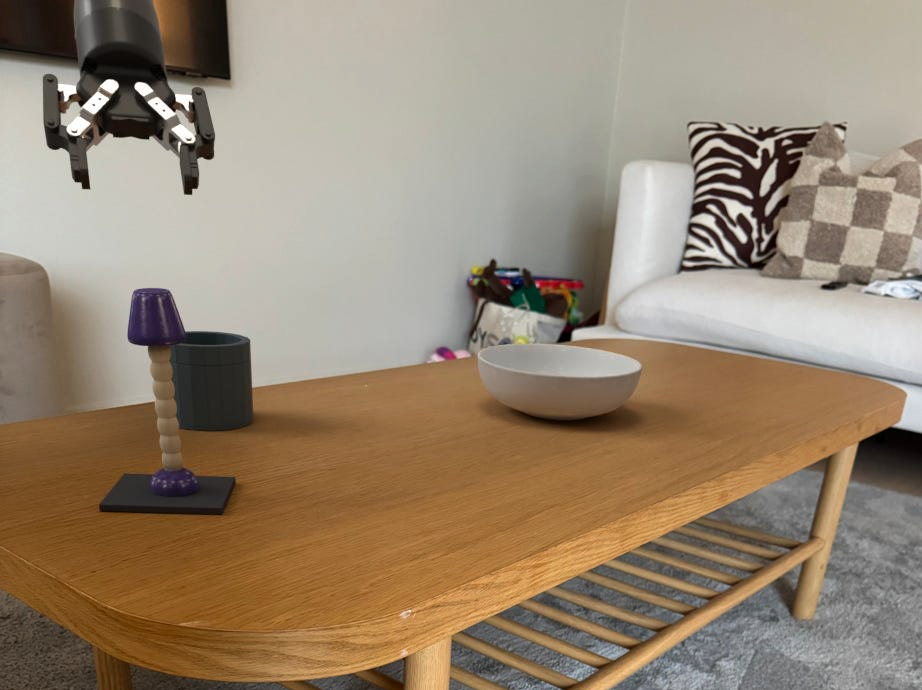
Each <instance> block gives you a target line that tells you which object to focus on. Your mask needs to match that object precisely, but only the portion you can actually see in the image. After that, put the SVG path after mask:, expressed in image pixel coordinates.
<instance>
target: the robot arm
mask: <svg viewBox="0 0 922 690" xmlns="http://www.w3.org/2000/svg"><path fill="white" fill-rule="evenodd" d="M73 26H74V41H75V44H76V51H77V52H76V53H77V61H78V69H79V80H78V82H77V83H76V85H74V84H66V83H59V79H58V77H57V76H56V75H55V74H52V73H46V74H44V75H42V120H43V121H42V122H43V128H44V129H43V130H44V136H45V142H46V147H48V148H49V150H53V151H58V150H60V149H63V150H64V151H66V152H67V153H68V154H69V163H70V171H71V178H72V180H73V181H74V183H77V184H79V183H80V184H81V190H89V191H90V190H91V183H90V173H89V171H90V170H89V164H88V154H87V152H88V151H89V150H90V149H91V148H92V147H93V146H94V147H98V146H99V145H100V144H101V142H102V141H104V140H105V138H106V137H107V136H109V134H110V135H112V138H118V139H126V138H135V139H137V140H144V141H145V140H147V141H150V138H151V137H152V139H154V140H155V141H156V142H157V143H158V144H160V146H161V147H162V148H163V149H164V150H166V151H167V152H168V151H171V152H172V153H173V154H174V155H175V156H177V157H178V159H179V169H180V175H181V176H180V177H181V183H182V190H183V195H184V196H193V190H198V188H199V187H200V169H199V163H198V160H199V159H202V158H203V159H204V160H207V161H212V160H213V159H214V158H215V141H216V132H215V128H214V123H213V119H212V115H211V110H210V107H209V103H208V98H207V93H206V91H205V90H204V88H202V87H200V86H195V87H193V88H192V89H191V94H189V93H187V94H186V93H185V94H183V93H175V92H174V90H173V89H172V88H171V87H170V85H169V81H168V74H167V67H166V60H165V53H164V46H163V39H162V33H161V26H160V21H159V17H158V14H157V11H156V8H155V3H154V0H74V4H73ZM74 103H77V104H78V106H79V107H80V110H79V114H78V116H76V117H75V118H74V119H73V120H72V121H71V122H70V123H69V125H68V126H67V125H64V124H62V114H63V115H65V114H67V111H68V110H69V109H70V107H71V105H72V104H74ZM177 111H180V112H182V113H183V116H184V117H185V119H187V122H188V123H189V124H193V127H194V131H195V135H194V134H193V133H192V132H191V131H190V130H189V129H187V128H186V127H185V125H183V124H182V122H181V121H180V118H179V116H178V114H177V113H176V112H177Z"/></svg>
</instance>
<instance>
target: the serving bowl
mask: <svg viewBox="0 0 922 690" xmlns="http://www.w3.org/2000/svg"><path fill="white" fill-rule="evenodd" d="M477 366H478V373H479V376H480V380H481V382H482V384H483V387H484V388H485V389H486V391H487V392H488V393H489V395H490V396H492V397H493V399H494V400H496V401H498V402H499V403H501V404H502V405H504V406H506V407H509V408H510V409H513V410H516V411H519V412H522V413H524V414H526V415H528V416H531V417H535V418H539V419H543V420H550V421H551V420H553V421H578V420H583V419H586V418H590V417H596V416H602V415H605V414H608V413H611V412H613V411H615V410H617V409H618V408H620V407H621V406H623V405H624V404H625V403H627V401H628V400H629V399H630V398H631V397H632V396H633V394H634V392H635V390H636V389H637V386H638V384H639V381H640V378H641V376H642V371H643V364H642V363H641V362H640V361H638V360H637V359H635V358H632V357H631V356H627V355H624V354H620V353H616V352H612V351H609V350H604V349H603V350H602V349H599V348H590V347H585V346H578V345H577V346H576V345H567V344H552V343H508V344H500V345H499V344H498V345H493V346H489V347H486V348H483V349H481V350H480V351H478V353H477Z"/></svg>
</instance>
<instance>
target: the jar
mask: <svg viewBox="0 0 922 690" xmlns="http://www.w3.org/2000/svg"><path fill="white" fill-rule="evenodd" d="M185 332H186V336H187V339H186V341H185V342H183V343H181V344H177V345H170V346H169V347H170V351H171V356H170V360H169V362H170V364H171V366H172V370H173V374H172V378H171V380H172V382H173V384H174V388H175V393H174V397H173V398H174V400H175V402H176V405H177V413H176V418H177V420H178V423H179V429H183V430H189V429H190V431H204V432H205V431H206V432H207V431H208V432H209V431H211V432H213V431H214V432H215V431H216V432H217V431H227V430H235V429H240V428H244V427H246V426H249V425H251V424H252V423H253V422H254V403H253V402H254V399H253V398H254V397H253V395H254V394H253V375H252V349H251V348H252V347H251V339H250V338H249V337H248V336H245V335H241V334H238V333H232V332H223V331H211V330H209V331H208V330H191V331H190V330H189V331H186V330H185Z"/></svg>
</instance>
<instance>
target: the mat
mask: <svg viewBox="0 0 922 690" xmlns="http://www.w3.org/2000/svg"><path fill="white" fill-rule="evenodd" d="M154 474H155V473H154ZM154 474H153V473H126V472H125V473H123V475H122V476H121V477H120V478H119V479H118V480H117V481H116V483H115V484H114V485H113V487H112V488H111V489H110V490H109V491H108V492H107V494H106V495H105V497H104V498H102V500H101V501H100V503H99V504H98V508H99V512H118V513H119V512H120V513H153V514H154V513H156V514H157V513H159V514H190V515H192V514H193V515H223V513H224V511H225V508H226V506H227V503H228V501H229V499H230V497H231V494H232V492H233V490H234V488H235V486H236V480H237V479H236V476H218V475H217V476H216V475H215V476H214V475H195V476H196V477H197V479H198V481H199V484H200V489H199V490H198V491H197V492H195V493H192V494H189V495H184V496H162V495H157V494H154V493H153V492H151V491H150V482H151V479H152V477H153V475H154Z"/></svg>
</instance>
